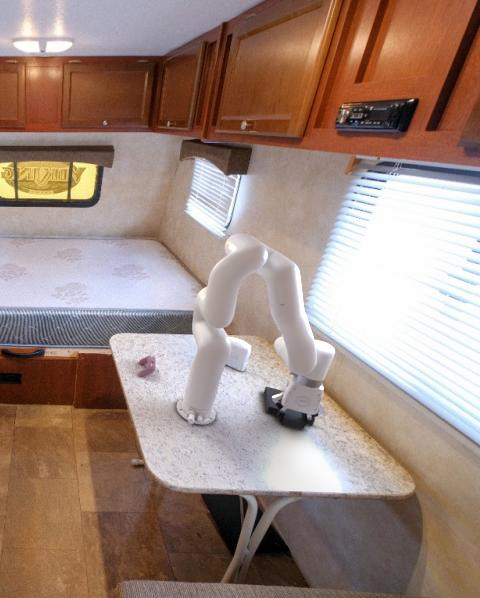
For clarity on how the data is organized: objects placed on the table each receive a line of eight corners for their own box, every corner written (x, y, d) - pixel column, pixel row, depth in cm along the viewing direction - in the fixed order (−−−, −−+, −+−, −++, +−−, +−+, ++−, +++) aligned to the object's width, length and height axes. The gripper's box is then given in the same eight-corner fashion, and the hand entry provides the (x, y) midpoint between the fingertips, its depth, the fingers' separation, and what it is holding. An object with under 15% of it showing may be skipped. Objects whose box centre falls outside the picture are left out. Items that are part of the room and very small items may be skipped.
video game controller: (147, 381, 138) (158, 369, 135) (137, 375, 137) (148, 363, 134) (147, 366, 147) (157, 355, 144) (138, 361, 146) (148, 349, 143)
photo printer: (246, 368, 148) (254, 343, 143) (242, 373, 145) (250, 346, 140) (221, 358, 154) (229, 332, 149) (217, 361, 151) (224, 336, 146)
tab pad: (301, 430, 117) (304, 423, 116) (281, 424, 119) (283, 417, 118) (296, 411, 126) (299, 404, 125) (277, 405, 128) (280, 399, 127)
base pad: (312, 425, 120) (315, 418, 118) (266, 413, 124) (268, 406, 123) (305, 403, 130) (308, 397, 129) (263, 392, 134) (265, 386, 133)
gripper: (279, 377, 112) (263, 422, 119) (343, 393, 107) (322, 438, 114) (276, 364, 118) (261, 408, 126) (336, 379, 113) (317, 423, 120)
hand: (290, 422), depth 120 cm, fingers closed on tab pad, 6 cm apart
